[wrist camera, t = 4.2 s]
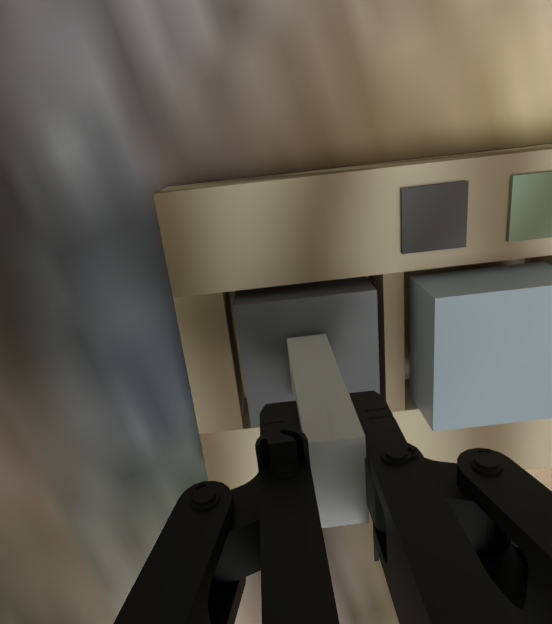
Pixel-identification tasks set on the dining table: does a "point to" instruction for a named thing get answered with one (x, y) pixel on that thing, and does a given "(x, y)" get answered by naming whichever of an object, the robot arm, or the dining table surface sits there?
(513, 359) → the key slate
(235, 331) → the keypad
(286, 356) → the key charcoal
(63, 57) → the dining table surface
